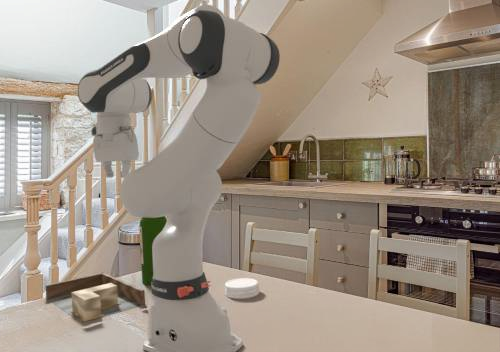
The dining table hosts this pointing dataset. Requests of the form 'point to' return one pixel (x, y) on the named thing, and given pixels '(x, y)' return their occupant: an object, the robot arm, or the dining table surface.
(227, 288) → the coaster
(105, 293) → the oak L block
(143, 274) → the wine bottle
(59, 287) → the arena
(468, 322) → the dining table surface
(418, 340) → the dining table surface
